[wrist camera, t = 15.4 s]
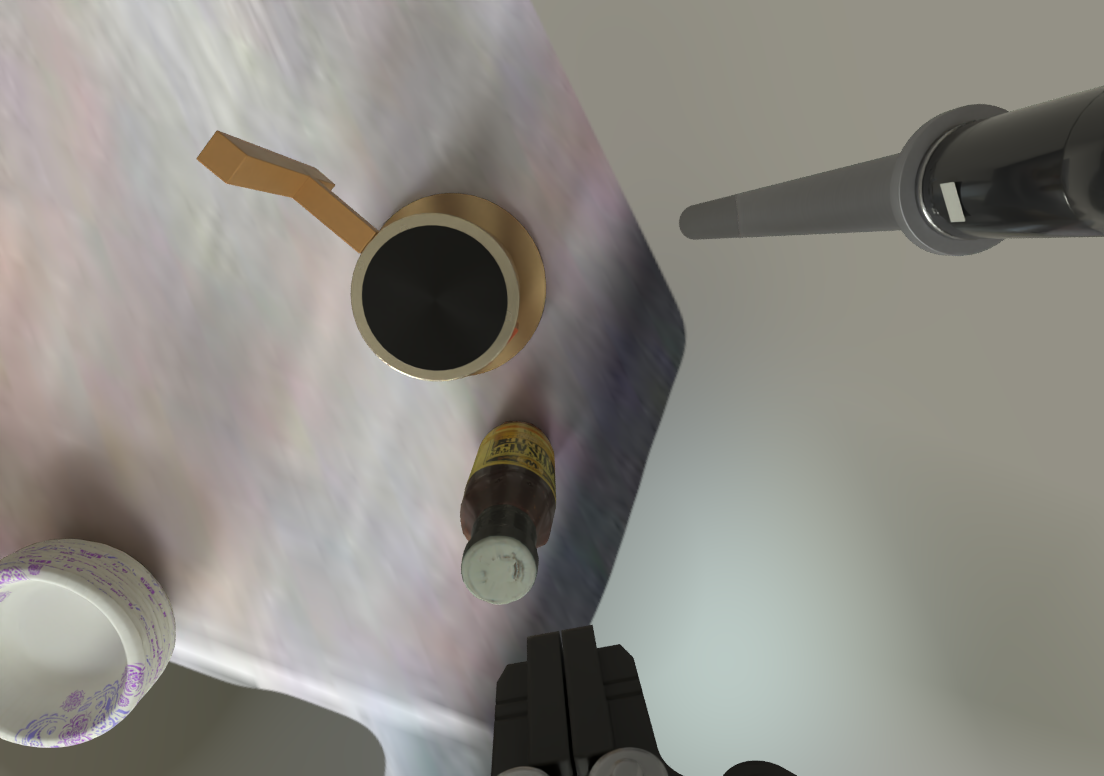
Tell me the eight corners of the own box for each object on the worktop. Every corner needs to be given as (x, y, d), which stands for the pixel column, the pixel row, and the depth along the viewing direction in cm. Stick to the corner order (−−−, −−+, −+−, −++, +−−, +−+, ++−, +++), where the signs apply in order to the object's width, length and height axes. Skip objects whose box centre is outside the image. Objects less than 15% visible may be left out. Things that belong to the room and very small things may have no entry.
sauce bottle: (566, 438, 51) (592, 554, 32) (529, 500, 52) (533, 647, 33) (497, 401, 50) (481, 497, 31) (461, 464, 51) (424, 595, 32)
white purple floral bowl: (70, 485, 50) (-13, 528, 43) (231, 588, 53) (181, 646, 45) (-23, 617, 52) (-117, 681, 45) (136, 709, 55) (73, 784, 47)
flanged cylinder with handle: (548, 283, 48) (565, 305, 29) (466, 379, 49) (432, 458, 30) (377, 132, 45) (274, 50, 26) (295, 238, 46) (141, 233, 28)
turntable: (528, 179, 47) (528, 177, 46) (559, 358, 50) (559, 360, 49) (346, 211, 46) (343, 210, 46) (389, 388, 50) (386, 391, 49)
